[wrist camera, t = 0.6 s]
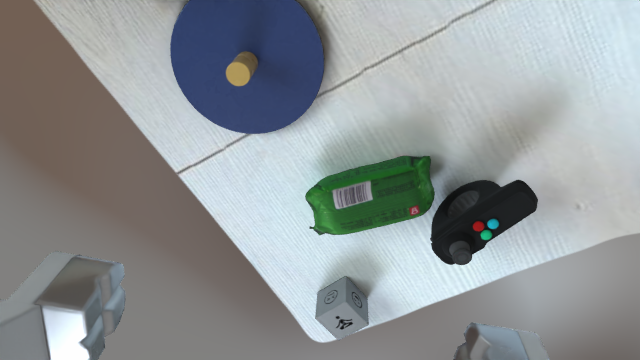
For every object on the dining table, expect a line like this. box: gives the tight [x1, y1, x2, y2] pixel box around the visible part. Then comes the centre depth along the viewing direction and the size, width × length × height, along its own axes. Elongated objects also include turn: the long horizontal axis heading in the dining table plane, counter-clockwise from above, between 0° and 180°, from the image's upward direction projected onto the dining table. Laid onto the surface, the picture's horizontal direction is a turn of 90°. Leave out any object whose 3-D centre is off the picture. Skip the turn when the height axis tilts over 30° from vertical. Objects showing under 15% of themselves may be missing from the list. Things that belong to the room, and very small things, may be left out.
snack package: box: [305, 156, 435, 235], centre depth 55 cm, size 7×16×5 cm, turn 108°
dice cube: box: [315, 276, 369, 340], centre depth 64 cm, size 5×5×5 cm
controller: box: [430, 180, 538, 265], centre depth 52 cm, size 4×12×10 cm, turn 133°
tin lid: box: [171, 0, 324, 134], centre depth 48 cm, size 16×16×6 cm
